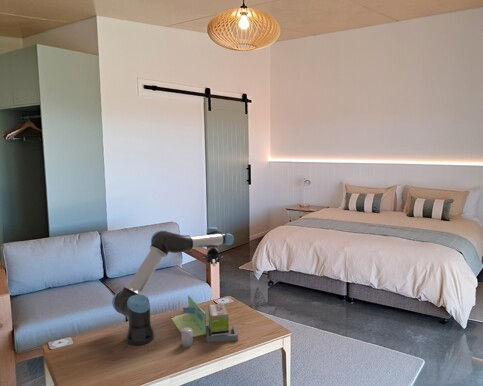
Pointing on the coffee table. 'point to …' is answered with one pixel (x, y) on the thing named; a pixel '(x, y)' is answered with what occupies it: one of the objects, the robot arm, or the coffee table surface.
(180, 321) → the display stand
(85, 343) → the coffee table surface
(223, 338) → the frame
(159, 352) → the coffee table surface
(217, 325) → the tea box
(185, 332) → the grey rounded cylinder
